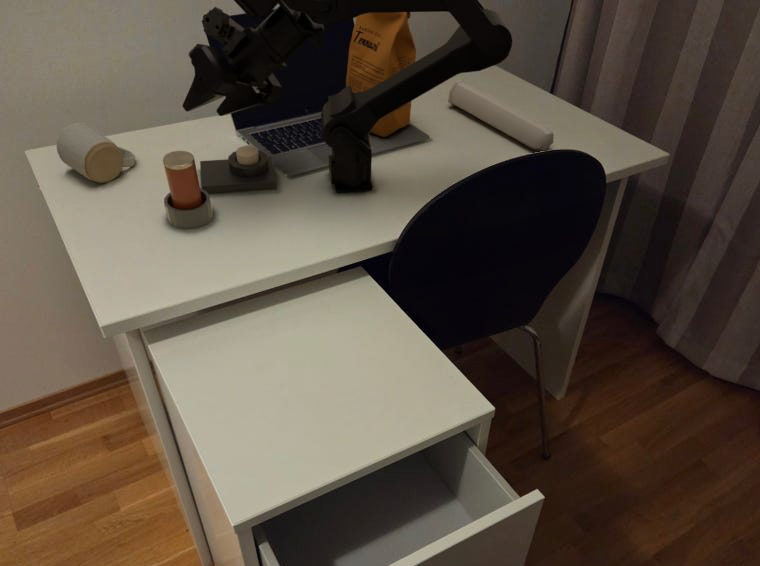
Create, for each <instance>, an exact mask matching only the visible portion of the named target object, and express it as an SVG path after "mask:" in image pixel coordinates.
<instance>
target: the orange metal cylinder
mask: <svg viewBox="0 0 760 566" xmlns="http://www.w3.org/2000/svg"><path fill="white" fill-rule="evenodd" d="M162 163H163V167H164V173H165V175H166V180H167V185H168V189H169V193H171V198H172V202H173V206H174V208H175V209H178V210H192V209H195V208H198V207H200V206H202V205H203V202H202V196H201V191H200V189H201V185H200V181H199V176H198V170H197V165H196V160H195V156H194V154H192V153H191V152H189V151H186V150H175V151H170V152H168V153H166V154H164V156H163V158H162Z"/></svg>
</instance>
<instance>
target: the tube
mask: <svg viewBox="0 0 760 566" xmlns="http://www.w3.org/2000/svg"><path fill="white" fill-rule="evenodd" d="M447 102H448V103H449V104H450V105H451V106H453V107H457V108H458V109H461V110H463V111H464V112H466V113H468V114H470V115H472V116H473V117H475V118H477V119H479V120H481V121H483V123H485V124H487V125H489V126H491V127H492V128H494V129H496V130H498V131H500V132H502V133H504V134H505V135H506V136H509V137H510V138H513V139H514V140H516V141H517V142H519V143H521V144H522V145H524V146H526V147H528V148H530V149H532V150H534V151H535V152H537V153H539V152H538V151H544V150H545V151H546V150H548V149H549V148H550V146H551V145H553V144H554V135H555V134H554V133H553V132H554V131H553V130H552V129H551V128H550V126H548V125H546V124H544V123H542V122H540V121H538V120H537V119H534V118H533V117H531V116H529V115H527V114H525V113H523V112H521V111H520V110H519V109H516V108H514V107H513V106H510V105H508V104H507V103H505V102H503V101H501V100H499V99H498V98H496V97H493V96H491V95H489V94H488V93H486V92H483V90H480V89H478V88H476V87H475V86H472V85H471V84H469V83H467V82H466V80H464V79H459V80H456V81H454V82H453V84H452V86H451V88H450V89H449V92H448V99H447ZM545 151H544V152H545Z"/></svg>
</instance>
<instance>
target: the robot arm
mask: <svg viewBox="0 0 760 566" xmlns="http://www.w3.org/2000/svg"><path fill="white" fill-rule="evenodd" d="M233 1H234V2H235V3H236V5H238V7H239V8H240V9H241V10H242V12H244V14H245V15H247V16H248V17H249V18H250V19H252V18H254V19H256V20H259V19H261V20H262V19H264V18H265V19H264V20H263V21H262V22H261V23H260V24H259V25H258V26H257V27H256V28H253V27H250V26H249V27H248V26H246V27H245V28H244V27H242V25H240V24H238V23H237V22H236V21H235V20H233V19H232V18H231V17H230V14H228V13H226V12H224V11H223V9H221V8H219V7H217V6H214V7H213V8H211V9H208V12H207V13H205V14H203V16H202V20H203V21H202V23H203V27H204V29H203V32H204V33H205V34H207V36H210V37H213V38H214V39H215V40H216V41H217V42H219V43H220V44H222V45H223V47H222V51H223V53H224V54H225V56H227V57H228V58H229V59H228V60H227V59H226V57H225V56H224V54H223V53H222V51H221V50H220V49H219V48H217V47H214V46H211V45H208V44H202V43H197V44H196V45H195V46H193V48H192V49H191V50H190V51H189V52H188V57H189V58H190V63H191V65H192V67H193V68H194V76H193V79H192V82H191V85H190V87H189V89H188V92H187V94H186V96H185V99H184V101H183V103H182V108H183V109H184V111H185V112H188V113H189V112H191V111H194V110H197V109H199V108H201V107H204V106H206V105H208V104H210V103H213V102H215V101H218V100H220V99H222V98H224V99H223V101H221V103H220V104H219V106H218V107H217V108H216V113H217V114H218V116H219V117H224V116H227V115H230V114H233V113H237V112H240V111H245V110H247V109H251V108H256V107H259V106H266V105H268V104H269V103H272V104H274V103H275V102H276V101H278V100H279V99H280V98H281V97H282V94H283V93H282V92H283V86H282V84H281V83H280V81H279V80H278V79H277V78H276V77H277V76H275V74H274V73H275V72H276V71H277V70H278V71H281V72H283V71H284V70H286V68H287V67H288V65H287V64H286V63H285V62H287V60H288V59H290V58H291V57H292V56H293V55H294V54H295V53H296V52H297V51H298V50H300V48H301V47H302V46H303V45H305V43H307V42H308V41H310V42H311V43H312V44H313V46H314V47H315V48H316V49H317V50H319V51H320V50H322V49H323V36H324V32H325V27H324V26H327V25H333V24H338V23H342V22H348V21H350V20H352V19H354V18H355V19H356V18H357V16H359V15H362V14H367V13H386V12H410V13H435V12H436V13H437V12H439V13H441V12H443V13H445V12H446V13H449V14H450V15H451V17H453V18H454V20H455V21H456V23H458V25H459V26H458V28H457V29H456V30H455V31H454V33H453V34H452V35H451V36H450V38H449V39H448V40H447V41H446V42H445V43H444V44H443V45H441V46H439V47H438V48H436V49H434V50H433V51H431V52H429V53H428V54H426V55H425V56H423V57H421V58H420V59H418V60H415V62H414V63H413V64H411V65H409V66H408V67H406V68H404V69H403V70H401V71H399V72H398V73H396V74H394V75H393V76H391V77H389V78H388V79H386V80H384V81H383V82H381V83H379V84H377V85H376V86H374V87H372V88H371V89H369V90H367V91H364V92H356V93H353V91H352V88H351V86H350V85H349V86H347V87H346V86H345V87H344V88H343V89H342V90H340V91H339V92H338V93H336V94H333V95H329V96H328V101H327V102H326V103H325V104H324V105H323V107H322V109H321V113H320V118H321V119H320V120H321V130H322V131H321V132H322V138H323V141H324V143H325V144H326V145H327V146H328V148H331V154H329V155H328V178H329V181H330V184H331V185H333V188H334V191H335V193H336V194H343V193H357V192H370V191H373V190H374V185H373V183H372V162H373V161H372V158H373V157H372V156H373V152H372V151H373V150H372V145H371V141H370V135H369V134H370V133H369V132H370V130H371V129H372V128H373V127H374V125H375V124H376V123H377V122H378V121H379V120H380V119H381V118H383V117H385V116H386V115H388V114H390V113H391V112H393V111H395V110H397V109H398V108H400V107H402V106H404V105H405V104H407V103H409V102H410V101H411V102H413V101H414V100H416V99H417V98H419V97H420V96H422V95H424V94H426V93H428V92H430V91H431V90H433V89H435V88H437V87H439V86H440V85H442V84H444V83H446V82H447V81H449V80H450V79H452V78H454V77H456V76H457V75H460V74H465V73H474V72H475V73H476V72H481V71H484V70H487V69H488V68H492V67H494V66H496V65H499V64H501V63H502V62H504V61H505V60H506V59H507V58H508V57H509V55H510V52H511V50H512V47H513V36H512V33H511V31H510V30H509V29H508V27H507V25H506V23H505V22H504V21H503V19H502V17H501V16H500V14H499V13H497V12H496V11H495V10H492V9H489V8H485V7H484V6H483V5H482V3H481V2H480V1H479V0H233ZM276 6H277V7H276ZM226 93H228V94H226Z"/></svg>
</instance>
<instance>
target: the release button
mask: <svg viewBox="0 0 760 566" xmlns="http://www.w3.org/2000/svg"><path fill="white" fill-rule="evenodd" d="M258 150H259V149H258V148H257V147H255V146H252V145H242V146H240V147H239V146H238V148H237V149H236V150H235V151H236V155H237V161H238V163H239V164H242V165H253V164H256V163H258V162H259V155H258Z"/></svg>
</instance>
